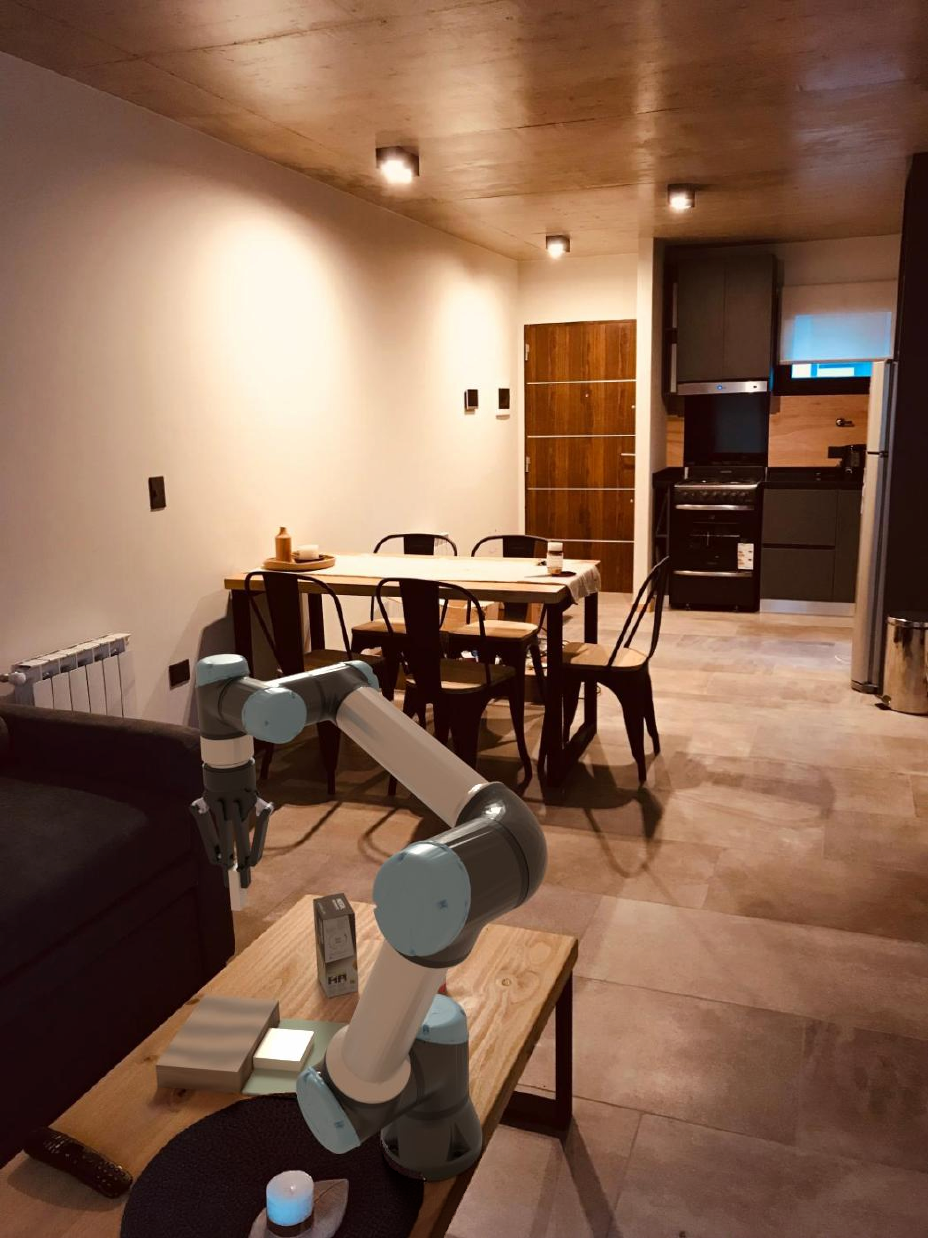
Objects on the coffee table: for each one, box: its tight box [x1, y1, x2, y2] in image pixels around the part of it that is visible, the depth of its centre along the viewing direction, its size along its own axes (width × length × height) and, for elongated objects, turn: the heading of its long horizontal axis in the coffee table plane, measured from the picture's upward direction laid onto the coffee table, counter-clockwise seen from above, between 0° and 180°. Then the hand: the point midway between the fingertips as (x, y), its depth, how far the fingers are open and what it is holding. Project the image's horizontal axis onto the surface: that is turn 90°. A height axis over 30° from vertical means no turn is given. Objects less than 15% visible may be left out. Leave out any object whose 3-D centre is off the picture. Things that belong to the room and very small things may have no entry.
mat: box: [241, 1017, 350, 1096], centre depth 173 cm, size 20×15×1 cm
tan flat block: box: [155, 994, 281, 1094], centre depth 175 cm, size 20×14×4 cm
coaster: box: [253, 1028, 314, 1072], centre depth 173 cm, size 8×8×2 cm
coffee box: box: [312, 892, 359, 998], centre depth 194 cm, size 9×6×16 cm
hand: (239, 906), depth 155 cm, fingers closed
